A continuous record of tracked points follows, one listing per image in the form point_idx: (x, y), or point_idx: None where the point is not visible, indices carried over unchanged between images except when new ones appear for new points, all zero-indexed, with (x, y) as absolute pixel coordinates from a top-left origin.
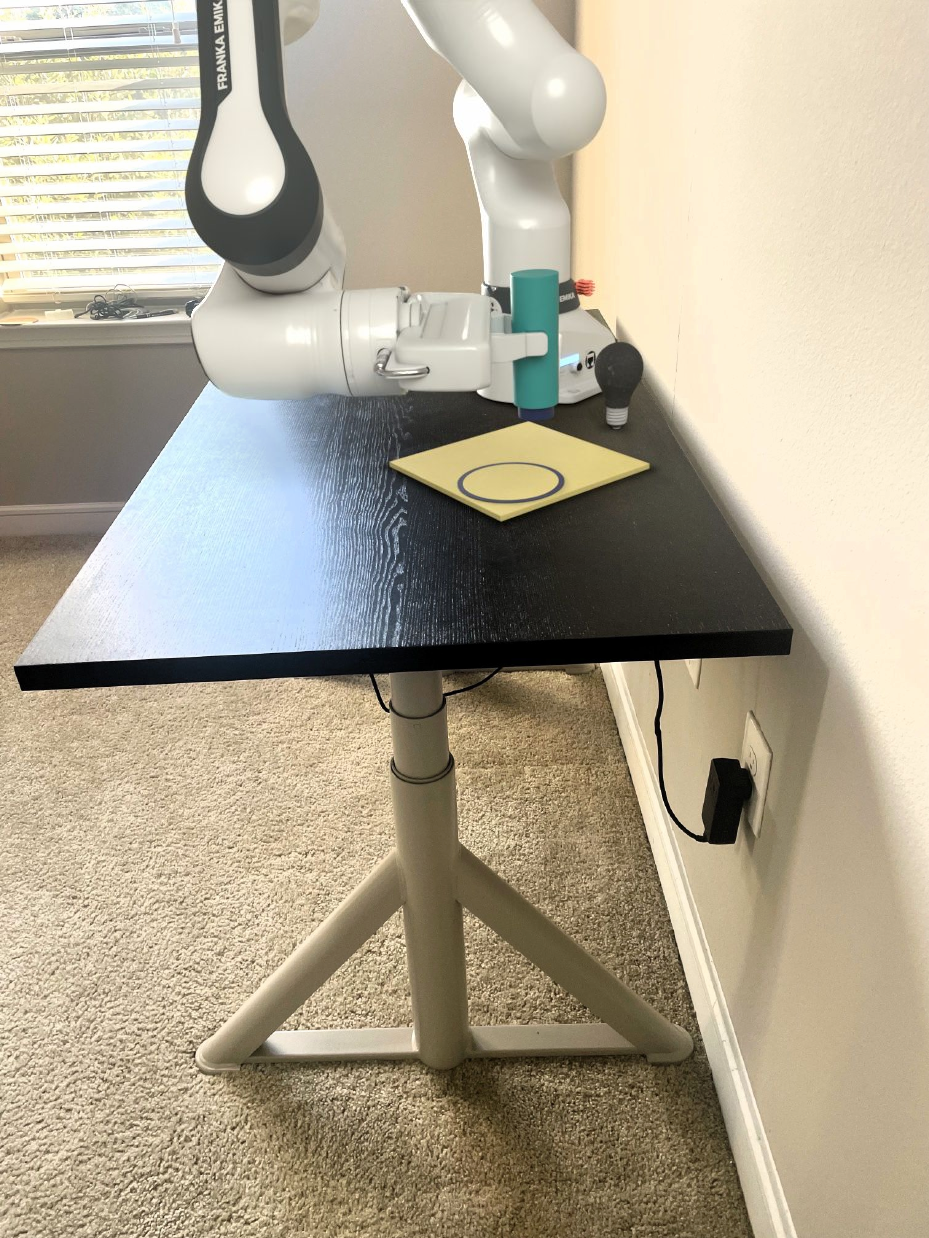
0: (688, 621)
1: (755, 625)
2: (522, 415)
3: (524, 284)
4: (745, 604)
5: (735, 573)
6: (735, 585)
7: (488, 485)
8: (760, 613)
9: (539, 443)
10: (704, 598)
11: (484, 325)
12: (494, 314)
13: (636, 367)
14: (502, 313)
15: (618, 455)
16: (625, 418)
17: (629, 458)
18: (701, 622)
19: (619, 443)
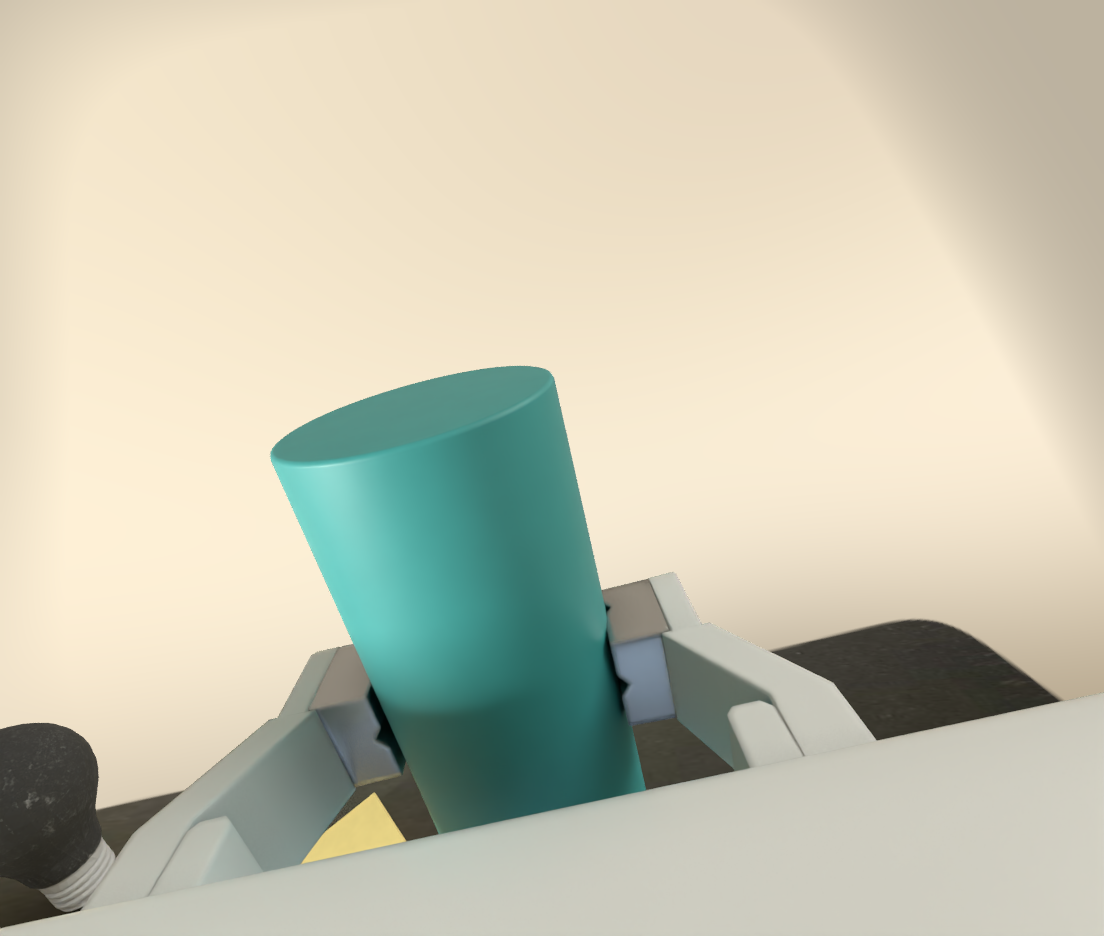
0: (1014, 698)
1: (954, 629)
2: None
3: (546, 430)
4: (898, 641)
5: (803, 655)
6: (843, 653)
7: None
8: (913, 627)
9: None
10: (914, 684)
11: (817, 779)
12: (103, 905)
13: (82, 742)
14: (131, 841)
15: (301, 863)
16: (113, 852)
17: (329, 835)
18: (1002, 682)
19: None
